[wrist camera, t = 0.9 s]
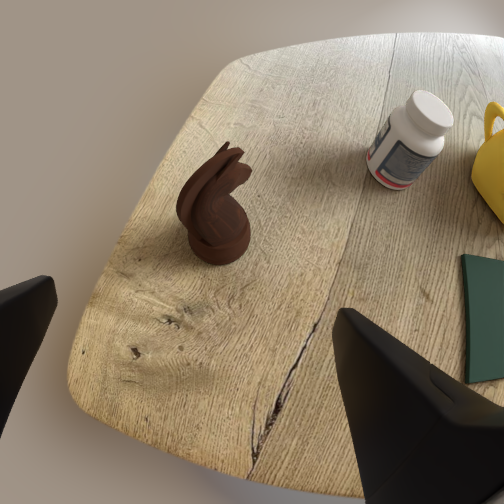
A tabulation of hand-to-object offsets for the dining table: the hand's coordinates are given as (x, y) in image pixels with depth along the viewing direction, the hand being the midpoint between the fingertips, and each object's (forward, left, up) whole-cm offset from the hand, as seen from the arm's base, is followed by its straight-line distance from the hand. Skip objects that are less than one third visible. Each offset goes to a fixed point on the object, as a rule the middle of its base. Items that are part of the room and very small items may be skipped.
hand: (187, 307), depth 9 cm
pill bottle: (+17, -15, -13) cm, 26 cm away
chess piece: (+8, 0, -13) cm, 15 cm away
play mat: (+3, -29, -13) cm, 32 cm away
